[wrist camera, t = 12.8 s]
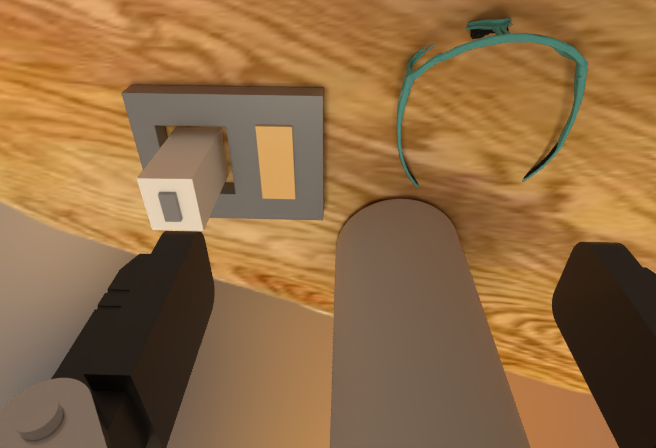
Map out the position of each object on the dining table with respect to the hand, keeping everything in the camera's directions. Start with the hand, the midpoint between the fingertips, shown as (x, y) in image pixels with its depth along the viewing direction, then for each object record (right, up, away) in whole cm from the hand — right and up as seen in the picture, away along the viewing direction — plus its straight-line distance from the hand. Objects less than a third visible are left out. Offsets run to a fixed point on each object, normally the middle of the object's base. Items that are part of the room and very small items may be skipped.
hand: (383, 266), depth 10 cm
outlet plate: (-10, +7, +30) cm, 32 cm away
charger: (-13, +8, +30) cm, 33 cm away
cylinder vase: (+6, -1, +36) cm, 36 cm away
